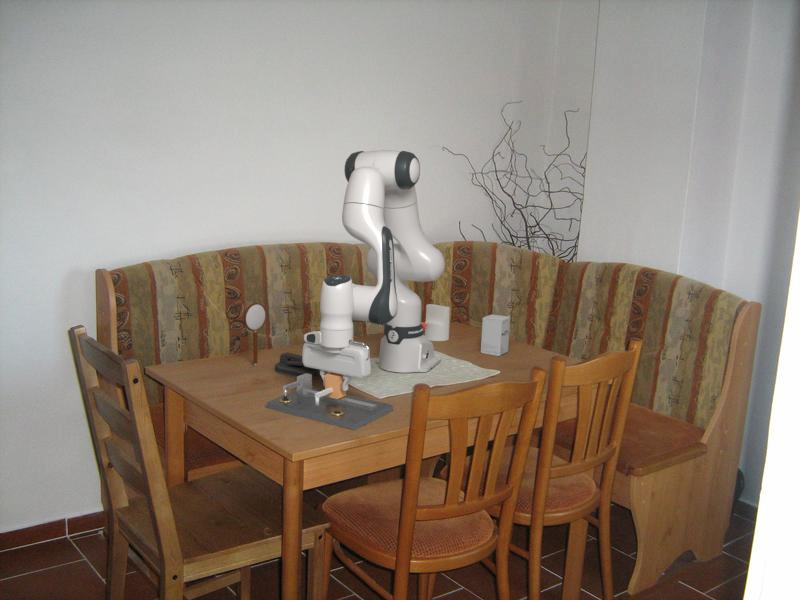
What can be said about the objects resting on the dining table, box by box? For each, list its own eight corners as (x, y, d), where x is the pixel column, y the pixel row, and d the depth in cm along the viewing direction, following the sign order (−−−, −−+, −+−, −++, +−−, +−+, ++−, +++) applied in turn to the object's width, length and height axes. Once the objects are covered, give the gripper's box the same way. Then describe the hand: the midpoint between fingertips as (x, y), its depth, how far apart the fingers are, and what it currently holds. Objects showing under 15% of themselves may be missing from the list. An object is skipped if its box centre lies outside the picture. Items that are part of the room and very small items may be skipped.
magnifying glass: (246, 369, 239) (246, 305, 235) (242, 368, 240) (242, 304, 236) (267, 363, 245) (267, 301, 241) (264, 362, 246) (263, 300, 243)
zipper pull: (330, 366, 221) (270, 350, 236) (330, 388, 223) (270, 371, 238) (351, 360, 228) (292, 345, 243) (351, 381, 230) (291, 365, 245)
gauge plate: (309, 391, 219) (309, 368, 218) (393, 410, 205) (393, 386, 204) (266, 407, 204) (266, 384, 203) (354, 430, 190) (354, 404, 189)
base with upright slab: (419, 338, 285) (420, 305, 283) (434, 334, 292) (435, 302, 290) (439, 342, 280) (440, 309, 277) (453, 338, 286) (455, 306, 284)
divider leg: (334, 394, 210) (334, 371, 208) (346, 397, 208) (346, 373, 206) (309, 404, 201) (310, 380, 200) (322, 407, 199) (322, 383, 198)
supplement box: (499, 356, 262) (501, 320, 260) (480, 353, 266) (481, 317, 264) (508, 352, 269) (510, 316, 266) (489, 348, 272) (491, 313, 270)
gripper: (376, 341, 201) (374, 392, 204) (313, 329, 212) (313, 378, 214) (362, 346, 196) (361, 398, 198) (298, 334, 206) (298, 384, 209)
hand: (335, 388), depth 206 cm, fingers closed on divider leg, 4 cm apart
